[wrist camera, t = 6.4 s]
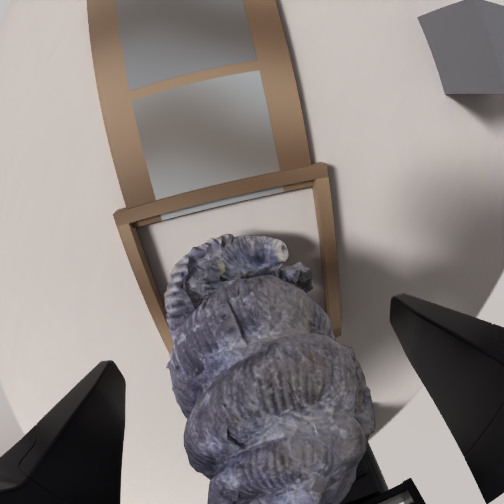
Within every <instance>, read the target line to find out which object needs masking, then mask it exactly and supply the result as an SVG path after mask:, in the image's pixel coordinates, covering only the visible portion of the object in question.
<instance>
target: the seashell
mask: <svg viewBox="0 0 504 504" xmlns="http://www.w3.org/2000/svg"><path fill="white" fill-rule="evenodd" d="M288 257H289V255H288V249H287V247H286V245H285V243H284V242H283V241H281V240H279V239H275V238H271V237H268V236H262V237H261V236H240V237H233V235H232V234H225V235H223V236H220V237H218V238H216V239H213V238H210V240H209V241H208V242H207V243H205V244H202V245H200V246H198V247H193V248H192V250H191V252H189V253H188V254H187V255H185V256H184V257H183V258H182V259H181V260H180V261H179V262H178V263H177V264H175V266H174V268H173V270H172V272H171V275H170V283H169V284H168V285H167V291H166V292H165V293H164V297H165V309H166V312H167V314H166V317H167V319H166V320H167V322H168V325H169V332H170V335H171V337H172V341H173V344H174V345H173V350H172V352H171V354H170V361H169V362H168V364H167V367H166V368H170V374H171V379H172V385H173V388H172V389H173V391H174V393H175V397H176V401H177V403H178V404H179V406H180V407H181V410H182V412H183V414H184V415H185V417H186V418H187V419H188V420H187V423H186V427H185V431H184V447H185V449H186V452H187V455H188V459H189V463H190V465H191V466H192V467H193V468H194V469H195V470H196V471H197V472H200V473H203V475H205V476H206V477H207V478H209V479H210V480H211V481H210V484H209V493H208V504H340V503H341V502H342V500H343V499H344V498H345V496H346V495H347V493H348V492H349V491H350V488H351V485H352V484H353V482H354V481H355V479H356V469H357V466H358V464H359V462H360V460H361V459H362V457H363V455H364V453H365V451H366V436H367V435H369V434H371V433H373V432H374V428H375V416H374V407H373V403H372V399H371V396H370V389H369V388H368V387H367V386H366V382H365V376H364V374H363V371H362V369H361V367H360V364H359V362H358V360H357V359H356V357H355V355H354V352H353V349H352V348H350V347H346V346H343V345H341V344H339V343H338V342H336V341H335V336H334V333H333V330H332V322H331V320H330V318H329V317H328V315H327V313H326V312H324V311H323V308H322V307H321V306H320V305H318V304H317V303H316V302H314V301H313V300H312V299H311V298H310V297H308V295H307V294H306V293H307V292H309V291H310V290H311V289H313V286H312V273H311V270H310V268H307V267H304V266H303V264H302V263H301V262H297V263H295V264H293V265H289V266H287V265H283V264H284V263H285V261H286V260H287V258H288Z"/></svg>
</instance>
